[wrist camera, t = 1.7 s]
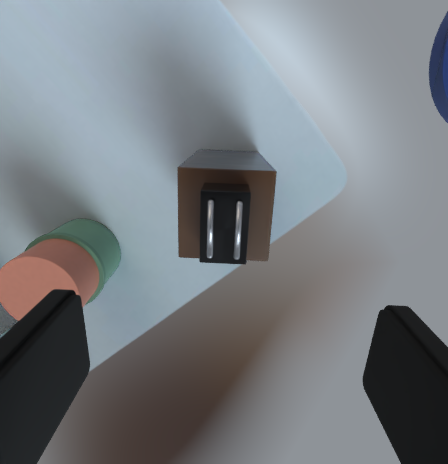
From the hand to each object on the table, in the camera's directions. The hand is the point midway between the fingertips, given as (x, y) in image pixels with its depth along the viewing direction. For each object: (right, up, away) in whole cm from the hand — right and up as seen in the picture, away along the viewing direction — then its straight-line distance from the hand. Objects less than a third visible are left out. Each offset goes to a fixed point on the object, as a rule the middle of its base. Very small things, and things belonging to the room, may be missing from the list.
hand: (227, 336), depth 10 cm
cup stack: (-18, +1, +31) cm, 36 cm away
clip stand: (0, +9, +27) cm, 29 cm away
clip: (0, +4, +13) cm, 14 cm away
